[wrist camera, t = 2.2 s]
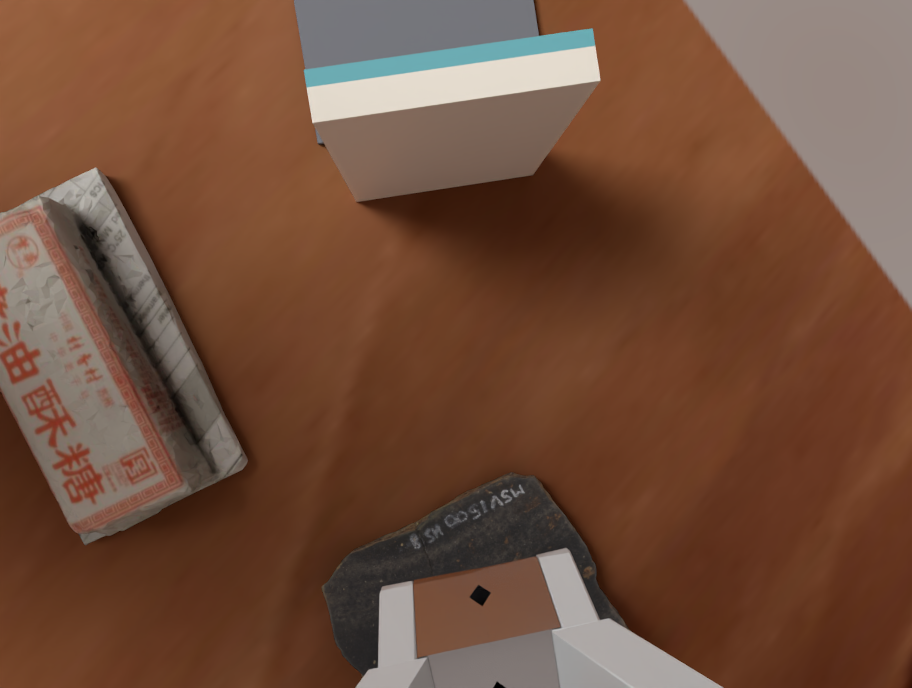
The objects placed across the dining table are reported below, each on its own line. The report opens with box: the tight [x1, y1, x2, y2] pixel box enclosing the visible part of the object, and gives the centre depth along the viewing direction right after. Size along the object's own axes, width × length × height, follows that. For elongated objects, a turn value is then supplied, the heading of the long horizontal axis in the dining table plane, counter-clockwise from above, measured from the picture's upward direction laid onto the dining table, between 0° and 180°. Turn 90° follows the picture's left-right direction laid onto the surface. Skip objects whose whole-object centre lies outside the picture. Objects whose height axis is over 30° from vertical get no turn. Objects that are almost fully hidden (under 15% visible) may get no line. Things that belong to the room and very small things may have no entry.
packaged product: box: [0, 168, 248, 545], centre depth 33 cm, size 18×5×10 cm
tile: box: [304, 28, 600, 202], centre depth 29 cm, size 2×10×14 cm, turn 99°
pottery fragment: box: [322, 472, 629, 678], centre depth 35 cm, size 15×12×4 cm
